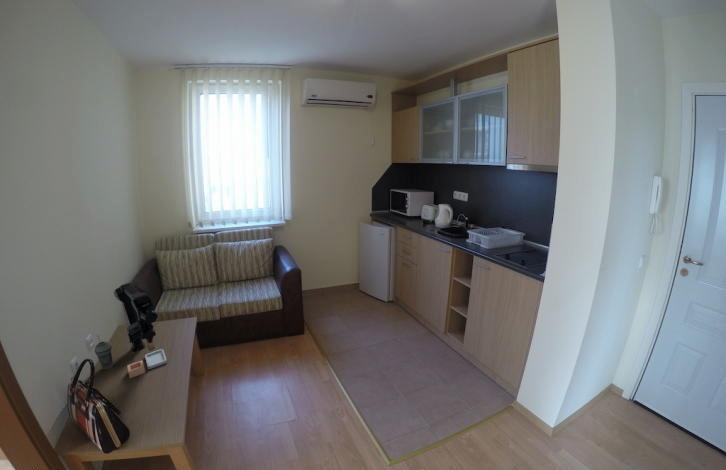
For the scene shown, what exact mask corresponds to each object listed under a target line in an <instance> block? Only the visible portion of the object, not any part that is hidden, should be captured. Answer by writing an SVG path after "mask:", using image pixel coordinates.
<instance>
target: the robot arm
mask: <svg viewBox="0 0 726 470" xmlns="http://www.w3.org/2000/svg"><path fill="white" fill-rule="evenodd" d="M113 296H114V297H115V298H116V300H117V301H119V302H121V305H122V309H123V312H124V315H125V318H126V320H127V324H128V326H127V328H126V333H127V334H126V337H125V339H126V342H128V343H129V344H131V351H132V352H133V353H134V352H137V351H139V350H143V349H145V348H146V344H145V342H144V341H143V340H146V339H147V340H148V342H149V343H151V342H152V339H153V340H154V337H155V336H157V333H156V331H155V330H156V329H155V328H154V325H153V324H154V322H156V320H157V319H158V317H159V316H158V314H157V312H155V311H154V310H152V309H151V308H153V307H154V302H153V300H152V298H151V296H150V295H148V294H147V293H145V292H140V291H139V290H137V288H136V287H135V286H133V284H132V283H131V282H127V283H124V284H121V285H119V287H118V288H116V289H115V290H114V291H113ZM136 315H137V316H136Z"/></svg>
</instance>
